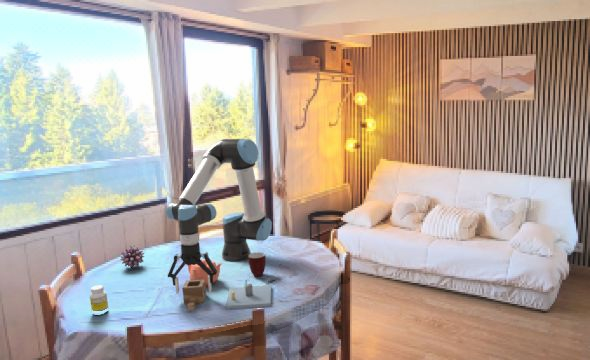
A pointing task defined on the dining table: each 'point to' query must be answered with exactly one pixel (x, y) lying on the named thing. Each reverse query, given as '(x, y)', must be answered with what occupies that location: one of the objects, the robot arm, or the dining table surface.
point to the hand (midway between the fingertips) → (194, 291)
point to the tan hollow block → (194, 293)
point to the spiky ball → (132, 256)
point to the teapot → (203, 272)
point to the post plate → (249, 296)
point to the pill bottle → (98, 298)
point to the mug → (257, 263)
